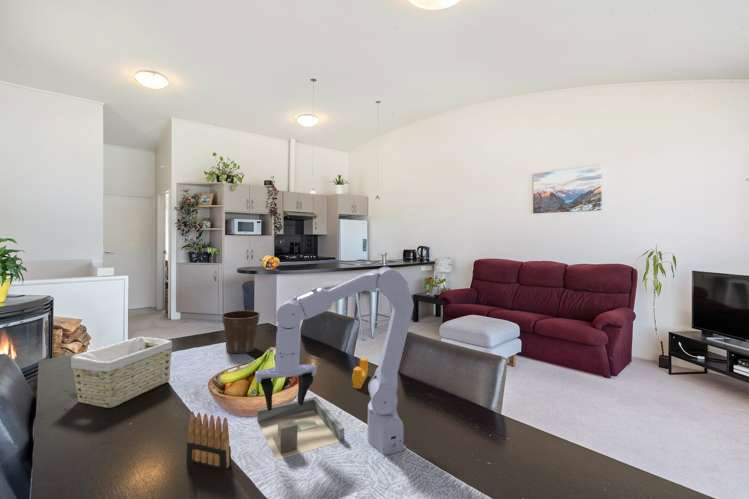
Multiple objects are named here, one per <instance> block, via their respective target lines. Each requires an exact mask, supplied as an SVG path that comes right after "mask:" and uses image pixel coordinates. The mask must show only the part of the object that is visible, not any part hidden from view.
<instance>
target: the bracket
mask: <svg viewBox="0 0 749 499" xmlns="http://www.w3.org/2000/svg"><path fill="white" fill-rule="evenodd" d="M273 440H274V442H275V444H276V446H277V448H278V450H279V452H280V454H283V453H287V452H290V451H294V450H297V424H296V422H295V421H294V420H293V421H289V422H285V423H281V424H278V434H274V435H273Z"/></svg>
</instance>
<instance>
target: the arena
mask: <svg viewBox="0 0 749 499" xmlns="http://www.w3.org/2000/svg"><path fill="white" fill-rule="evenodd" d="M256 411H257V413H256V416H257V418H256V420H257V422H256V423H257V424H258V426H259V428H260V430H261V432H262V434H263V436H264V438H265V440H266V443H267V444H268V447H269V448H270V450H271V453H272V455H273V457H274V458H275V461H278V460H282V459H285V458H289V457H292V456H295V455H299V454H303V453H306V452H310V451H314V450H317V449H320V448H324V447H327V446H331V445H334V444H337V443H342V442H344V441H345V427H344V426H343V425H342V424H341V423H340V422H339V420H338V419H337V418H336V417H335V416H334V415H333V414H332V413H331V411H330V410H328V408H327V407H326V406H325V405H324V404H323V403H322V401H320V400H319V398H318V397H317V396H313V397H309V398H304V402H303V405H300V404H299V403H298V400H294V401H290V402H284V403H281V404H276V405H272V410H271V411H268V409H267V406H266V407H263V408H262V407H261V408H258V409H257V410H256ZM293 420H294V421H295V422H296V424H297V450H294V451H290V452H287V453H283V454H280V452H279V450H278V448H277V446H276V444H275V442H274V440H273V435H274V434H278V424H281V423H285V422H289V421H293Z"/></svg>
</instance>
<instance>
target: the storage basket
mask: <svg viewBox="0 0 749 499" xmlns="http://www.w3.org/2000/svg"><path fill="white" fill-rule="evenodd" d="M172 343H173V342H172V340H170V339H164V338H154V337H148V336H146V337H145V336H137V337H134V338H130V339H126V340H123V341H120V342H117V343H113V344H109V345H106V346H103V347H99V348H95V349H92V350H88V351H84V352H82V353H78V354H74V355H72V356H71V357H70V362H71V363H70V366H71V369H72V371H73V375H74V378H73V379H74V383H75V389H76V393H77V394H76V395H77V401H78V402H79V403H83V404H86V405H87V404H88V405H91V406H97V407H101V408H104V409H105V408H106V409H107V408H110V409H111V408H114V407H117V406H120V405H121V404H123V403H125V402H128V401H129V400H132V399H134V398H136V397H138V396H140V395H142V394H143V393H146V392H149V391H151V390H153V389H155V388H158V387H159V386H161V385H164V384H165V383H168V382H169V381H170V377H171V364H172V361H171V360H172V353H173V352H172V351H173V349H172V348H173V344H172ZM147 346H150V347H147Z"/></svg>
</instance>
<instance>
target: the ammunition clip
mask: <svg viewBox="0 0 749 499" xmlns="http://www.w3.org/2000/svg"><path fill="white" fill-rule="evenodd" d="M201 415H202V414H201V412H198V413H197V415H195V412H194V411H193V410H192V411H191V412H190V416H189V425H188V427H189V428H188V437H187V438H188V442H186V464H188V465H187V466H190V465H192V466H191V467H194V464H197V465H202V466H207V467H211V468H215V469H219V470H222V471H227V470H228V468H229V467H231V466H232V449H231V445H230V434H229V422H228V419H227V417H226V416H225V417H224V418H223V420H222V421H221V417H220V416H219V415H218V416H217V418H216V421H215V417H214V415H213V414H211V415H210V418H209V417H208V414H207V413H204V415H203V418H202V416H201Z"/></svg>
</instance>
